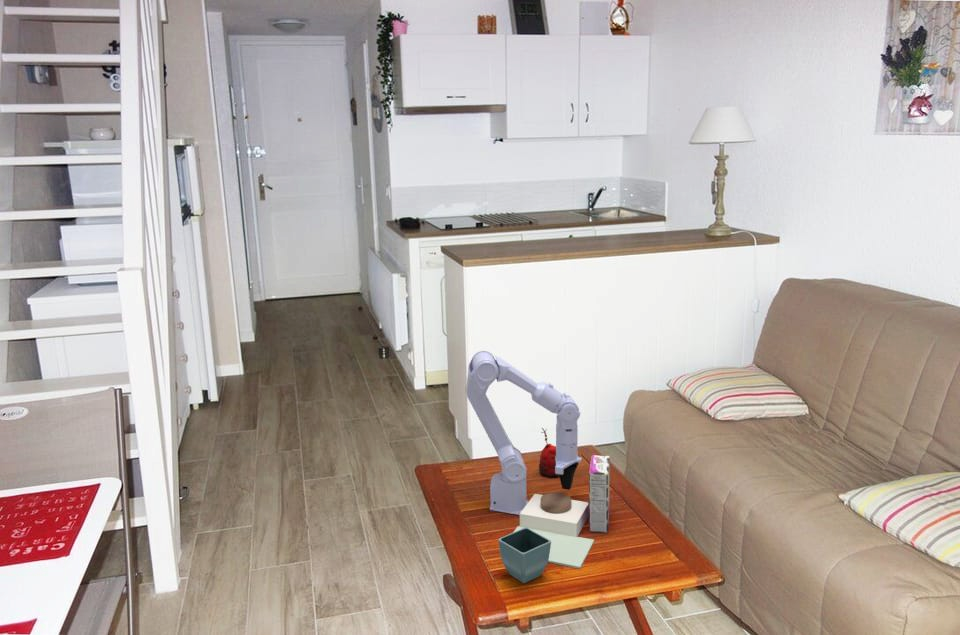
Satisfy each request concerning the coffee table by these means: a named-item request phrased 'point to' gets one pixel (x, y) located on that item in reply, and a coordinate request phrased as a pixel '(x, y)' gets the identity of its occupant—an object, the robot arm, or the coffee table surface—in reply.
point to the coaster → (555, 503)
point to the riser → (555, 517)
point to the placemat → (565, 548)
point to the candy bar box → (599, 494)
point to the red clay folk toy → (548, 459)
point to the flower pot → (524, 554)
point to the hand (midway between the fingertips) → (566, 488)
